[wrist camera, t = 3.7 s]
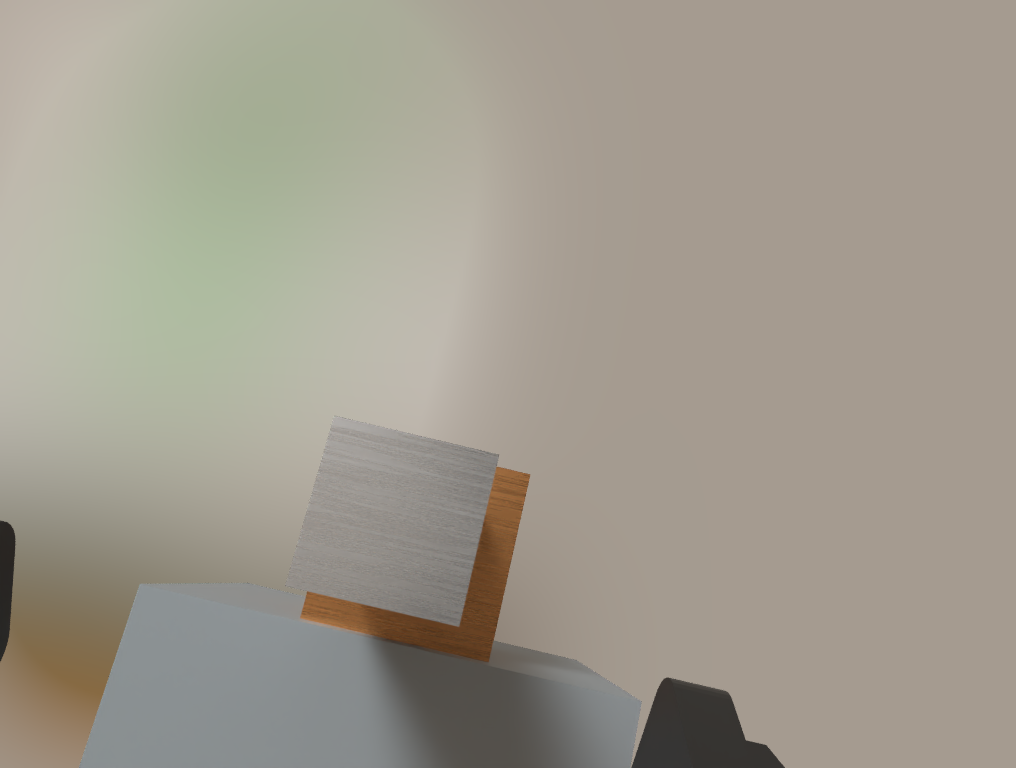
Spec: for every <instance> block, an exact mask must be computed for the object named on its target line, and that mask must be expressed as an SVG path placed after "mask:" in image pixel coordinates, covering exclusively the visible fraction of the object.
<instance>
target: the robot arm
mask: <svg viewBox="0 0 1016 768" xmlns="http://www.w3.org/2000/svg"><path fill="white" fill-rule="evenodd" d="M14 557H15V533H14V530H13V528H12V527H11V525H10V524H9V523H7V522H4V521H0V661H1V659H2V657H3V654H4V652H5V649H6V646H7V642H8V638H9V630H10V615H11V601H12V600H11V599H12V586H13V571H14ZM632 768H785V767H784V766H783V765H782V764H781V763H780V761H779V760H778V759H777V758H776V756H775V755H774V754H773V753H772V752H771V750H770V749H769V748H768V747H767V746H766V745H763V744H759V743H755V742H750V741H746V740H745V737H744V734H743V731H742V728H741V725H740V722H739V719H738V716H737V713H736V710H735V707H734V704H733V701H732V699H731V696H730V695H729V693H728V692H726V691H723V690H719V689H715V688H711V687H706V686H702V685H698V684H693V683H689V682H684V681H681V680H676V679H672V678H665V679H664V680H663V681H662V682H661V684H660V686H659V688H658V690H657V693H656V696H655V699H654V702H653V705H652V708H651V711H650V714H649V717H648V720H647V723H646V726H645V729H644V732H643V735H642V738H641V741H640V744H639V747H638V750H637V753H636V756H635V759H634V762H633V765H632Z"/></svg>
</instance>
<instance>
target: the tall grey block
mask: <svg viewBox="0 0 1016 768" xmlns="http://www.w3.org/2000/svg"><path fill="white" fill-rule="evenodd" d="M305 598H306V597H305V596H301V595H297V594H293V593H288V592H284V591H280V590H275V589H271V588H267V587H263V586H258V585H254V584H250V583H206V584H205V583H204V584H203V583H198V584H140V585H139V589H138V591H137V595H136V597H135V601H134V603H133V606H132V609H131V612H130V615H129V618H128V621H127V625H126V628H125V631H124V634H123V637H122V640H121V643H120V646H119V649H118V652H117V655H116V658H115V661H114V664H113V667H112V670H111V673H110V676H109V679H108V682H107V685H106V688H105V691H104V694H103V697H102V700H101V703H100V706H99V709H98V712H97V715H96V718H95V721H94V724H93V727H92V730H91V733H90V736H89V739H88V742H87V745H86V748H85V751H84V754H83V757H82V760H81V763H80V766H79V768H630V765H631V760H632V754H633V748H634V743H635V737H636V731H637V725H638V720H639V714H640V707H641V701H640V700H638V699H637V698H635V697H634V696H632V695H630V694H629V693H627V692H626V691H624V690H622V689H621V688H620V687H618V686H616V685H615V684H613V683H612V682H610V681H608V680H607V679H605V678H604V677H602V676H601V675H599V674H597V673H596V672H594V671H593V670H591V669H590V668H588V667H586V666H585V665H583V664H582V663H580V662H578V661H577V660H574V659H569V658H565V657H561V656H556V655H552V654H548V653H543V652H539V651H535V650H531V649H527V648H523V647H518V646H514V645H510V644H506V643H501V642H497V641H493V645H492V650H491V654H490V659H489V662H484V661H480V660H476V659H472V658H467V657H463V656H459V655H455V654H450V653H446V652H442V651H437V650H433V649H429V648H425V647H420V646H416V645H412V644H408V643H403V642H399V641H395V640H391V639H386V638H382V637H378V636H373V635H369V634H365V633H361V632H356V631H352V630H348V629H344V628H339V627H335V626H331V625H327V624H322V623H318V622H314V621H309V620H305V619H301V618H300V616H301V612H302V609H303V605H304V602H305Z"/></svg>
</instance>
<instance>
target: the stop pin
mask: <svg viewBox="0 0 1016 768" xmlns="http://www.w3.org/2000/svg"><path fill="white" fill-rule="evenodd" d="M498 458H499V455H498V454H494V453H489V452H485V451H481V450H477V449H473V448H469V447H464V446H460V445H456V444H452V443H447V442H443V441H439V440H435V439H431V438H426V437H422V436H418V435H413V434H410V433H405V432H401V431H397V430H393V429H388V428H384V427H380V426H376V425H372V424H367V423H363V422H359V421H355V420H351V419H346V418H342V417H338V416H334V418H333V422H332V425H331V429H330V432H329V436H328V439H327V442H326V446H325V449H324V453H323V457H322V460H321V463H320V467H319V470H318V474H317V477H316V481H315V484H314V488H313V491H312V495H311V498H310V502H309V505H308V509H307V512H306V515H305V519H304V522H303V526H302V529H301V533H300V536H299V540H298V544H297V547H296V550H295V554H294V557H293V560H292V564H291V567H290V571H289V574H288V578H287V581H286V585H285V586H287V587H292V588H296V589H300V590H305V591H307V595H306V598H305V602H304V605H303V609H302V612H301V616H300V618H301V619H305V620H309V621H314V622H318V623H322V624H327V625H331V626H335V627H339V628H344V629H348V630H352V631H356V632H361V633H365V634H369V635H373V636H378V637H382V638H386V639H391V640H395V641H399V642H403V643H408V644H412V645H416V646H420V647H425V648H429V649H433V650H437V651H442V652H446V653H450V654H455V655H459V656H463V657H467V658H472V659H476V660H480V661H484V662H489V659H490V654H491V650H492V645H493V641H494V636H495V631H496V627H497V622H498V618H499V614H500V609H501V604H502V600H503V595H504V591H505V586H506V582H507V577H508V573H509V568H510V564H511V559H512V555H513V550H514V546H515V541H516V537H517V532H518V527H519V523H520V519H521V514H522V510H523V505H524V501H525V496H526V492H527V487H528V483H529V478H530V474H526V473H522V472H517V471H513V470H509V469H504V468H500V467H497V462H498Z"/></svg>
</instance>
